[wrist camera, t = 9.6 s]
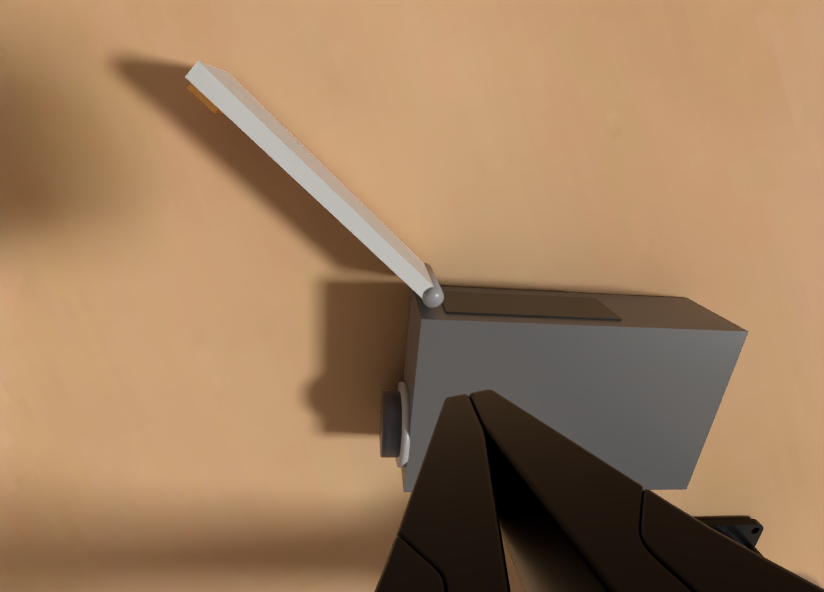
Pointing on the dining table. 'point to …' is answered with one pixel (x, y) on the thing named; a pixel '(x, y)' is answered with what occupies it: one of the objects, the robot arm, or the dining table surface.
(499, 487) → the robot arm
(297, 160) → the side door
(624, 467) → the block
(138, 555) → the dining table surface
